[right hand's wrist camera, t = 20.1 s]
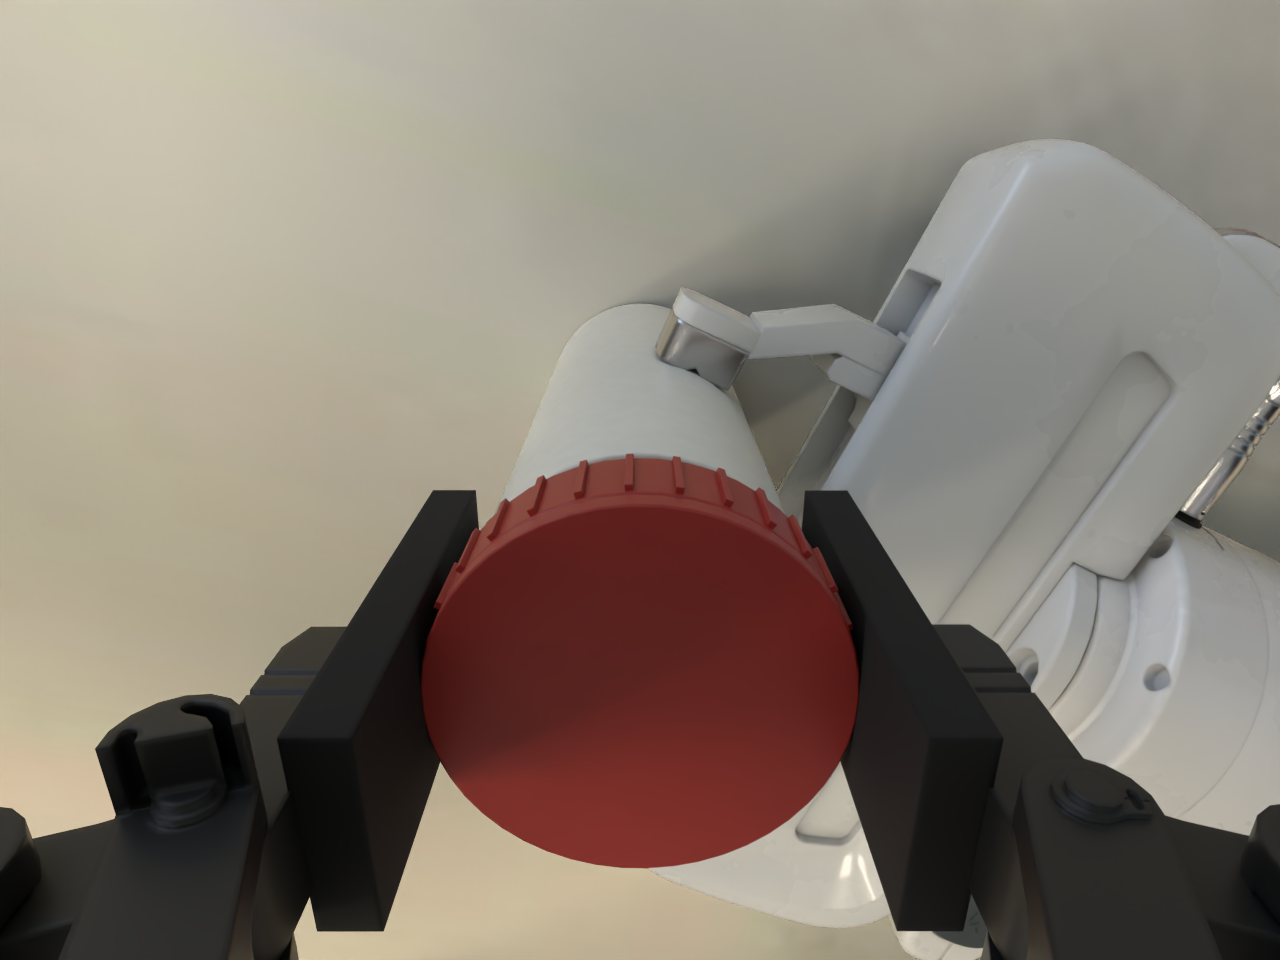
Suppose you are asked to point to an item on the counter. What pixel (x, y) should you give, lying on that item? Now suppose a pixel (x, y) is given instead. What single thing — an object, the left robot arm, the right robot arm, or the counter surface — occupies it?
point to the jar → (634, 408)
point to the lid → (640, 665)
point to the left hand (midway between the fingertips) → (605, 452)
